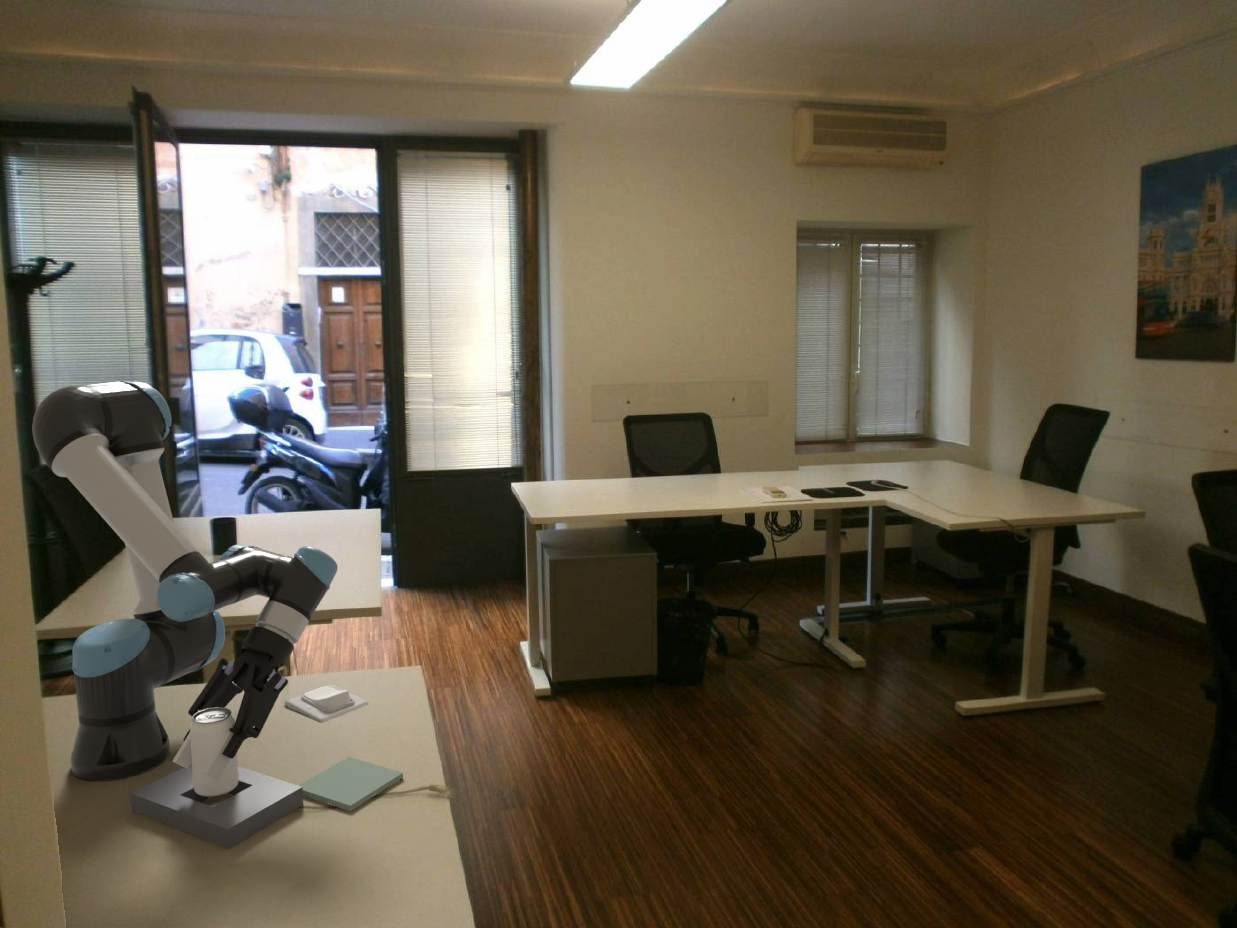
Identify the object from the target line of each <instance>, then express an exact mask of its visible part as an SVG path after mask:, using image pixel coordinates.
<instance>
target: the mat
mask: <svg viewBox="0 0 1237 928" xmlns="http://www.w3.org/2000/svg"><path fill="white" fill-rule="evenodd" d="M400 779H401V780H403V779H404V773H403V772H401V771H398V770H395V769H392V768H388V767H385V766H381V765H378V764H374V763H370V762H368V761H364V760H361V759H358V758H355V757H354V758H353V757H351V756H348V757H346V758H344V759H343V760H341V761H339V762H337V763H335V764H333V765H331V766H330V767H328V768H326V769H324V770H323V771H321V772H319V773H317V774H315V775H314V776H312V777H310V778H308V779H307V780H305V781H303V782H301V783H300V784H298V786H301V787H302V790H303V795H304V796H303V797H305V796H306V798H308V797H309V799H311V798H312V799H311V800H314V801H318V802H320V803H323V802H325V803H324V804H326V803H329V804H332V805H335V806H338V807H339V809H342V810H345V811H347V810H348V812H351V813H352V810H353V811H354V810H356V809H357V808H359V807H361V806H362V805H364V804H365V803H367V802H368V801H370V800H371V799H372V798H371V797H372V796H373V795H375V794H377V793H379V792H381V793H383V792H384V791H386V790H387V789H389V788H390V787H392V786H393V784H394V783H395V784H396V782H397V781H398V782H400V781H401V780H400ZM399 780H400V781H399ZM398 782H397V783H398ZM395 784H394V785H395ZM388 787H389V788H388ZM386 788H387V789H386ZM385 789H386V790H385ZM383 790H384V791H383ZM382 791H383V792H382ZM379 794H380V793H379ZM370 798H371V799H370ZM369 799H370V800H369ZM367 800H368V801H367ZM366 801H367V802H366ZM364 802H365V803H364ZM363 803H364V804H363ZM329 804H328V805H329ZM332 805H331V806H332ZM335 806H334V807H335ZM338 807H337V808H338Z"/></svg>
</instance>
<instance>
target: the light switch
mask: <svg viewBox="0 0 1237 928" xmlns="http://www.w3.org/2000/svg"><path fill="white" fill-rule="evenodd" d="M368 704H369V705H370V703H369V701H367V700H365V699H363V698H361V697H359V696H357V695H355V694H353V693H351V692H349V690H347V689H344V688H341V687H339V686H338V685H335V684H330V685H324V686H321V687H318V688H315V689H311V690H310V691H307V692H305V693H302V694H301V695H298V696H295V697H293V698H290V699H287V700H285V701H284V706H286V707H287V708H289V709H291V710H294V711H295V712H297V711H298V713H299V712H300V714H302V715H304V716H306V715H307V716H306V717H308V716H309V718H311V719H313V718H314V719H313V720H315V719H316V720H315V721H317V720H318V721H317V722H320V723H326V722H328V721H327V720H329V719H331V720H333V719H332V718H334V719H336V718H338V716H339V717H341V716H343V715H346V714H348V713H347V712H349V713H351V712H353V711H357V710H359V709H361V708H364V707H366V706H365V705H367V706H368ZM363 706H364V707H363ZM350 711H351V712H350ZM345 713H346V714H345ZM325 721H326V722H325ZM329 721H330V720H329Z"/></svg>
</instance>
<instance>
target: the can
mask: <svg viewBox="0 0 1237 928" xmlns="http://www.w3.org/2000/svg"><path fill="white" fill-rule="evenodd" d="M198 711H199V710H198ZM191 720H192V721H191V724H190V725H189V729H190V742H191V757H192V762H191V764H192V771H193V784H194V791H195V792H196V793H197V794H198V795H200V796H203V797H211V798H216V797H220V796H224V795H228V794H227V793H229V792H231V791H232V790H234V789H235V788H236V786H237V785H238V782H239V779H238V766H239V765H238V764H239V763H238V762H239V761H238V752H237V753H236V755H235V756H234V757H233V759H230V761H229V762H228V764H227V766H226V768H225V769H224V771H223V773H222V775H221V776H220V778H219V780H216V779H214V778H212V777H210V776H209V775H207V774H205V773H203V772H204V770H205V769H206V767H207V765H208V764H209V762H210V760H211V758H212V757H213V755H214V753H215V752H216V750H217V748H218V746H219V745H220V743H221V741H222V740H223V738H224V736H225V735H226V733H227V732H230V733H232V732H231V731H230V728H234V725H235V721H236V719H234V717H233V715H232V710H231V709H230V708H227V707H225V708H221V707H216V708H209V709H204V710H201V711H199V712H197V713H195V714H194V715H193V716H191ZM232 734H234V733H232Z"/></svg>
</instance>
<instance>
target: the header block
mask: <svg viewBox="0 0 1237 928" xmlns="http://www.w3.org/2000/svg"><path fill="white" fill-rule="evenodd" d="M238 779H239V782H238V785H237V786H236V788H235V789H234V790H232V791H231V792H229V793H227V794H226V795H229V796H231V797H229V798H228V797H227V798H226V799H224V800H222V801H221V802H219V803H217V804H215V805H213V806H211V805H208V804H206V803H203V802H206V801H207V800H208V798H209V797H203V796H200V795H198V794H197V793H196V792H195V791H194V784H193V771H192V763H191V764H190V765H189V767H188V769H186V768H183V767H181V768H180V769H177V770H175V771H173V772H171V773H169V774H167V775H165V776H163V777H161V778H158V779H157V780H154V781H152V782H150V783H148V784H146V785H144V786H142V787H140V788H138V789H137V788H136V790H133V791H131V792H129V796H130V797H129V798H130V807H131V812H133V811H135V812H137V813H136V814H138V813H139V815H141V814H142V815H141V816H144V817H147V818H148V819H151V820H154V821H156V822H159V823H162V824H164V825H168V826H170V827H172V828H173V829H177V830H179V831H183V832H184V833H187V834H190V835H193V836H195V837H198V838H200V839H203V840H206V841H208V842H210V843H213V844H216V845H219V846H221V847H223V848H227V849H231V848H233V847H235V846H236V845H238V844H240V843H241V842H243V841H245V840H246V839H249V838H250V837H251V836H253V835H255V834H256V833H259V832H260V831H262V830H264V829H265V828H267V827H268V826H270V825H272V824H274V823H276V822H277V821H278V820H280V819H282V818H283V817H286V816H287V815H289V814H291V813H292V812H294V811H295V810H297V809H298V808H300V806H301V807H302V806H304V796H303V790H302V787H301V786H298V785H299V784H298V785H297V784H294V783H291V782H289V781H286V780H285V781H284V780H282V779H279V778H275V777H273V776H270V775H266V774H263V773H260V772H258V771H254V770H251V769H249V768H245V767H242V766H239V765H238ZM233 795H234V796H233ZM209 799H210V798H209ZM135 812H134V813H135Z"/></svg>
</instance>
